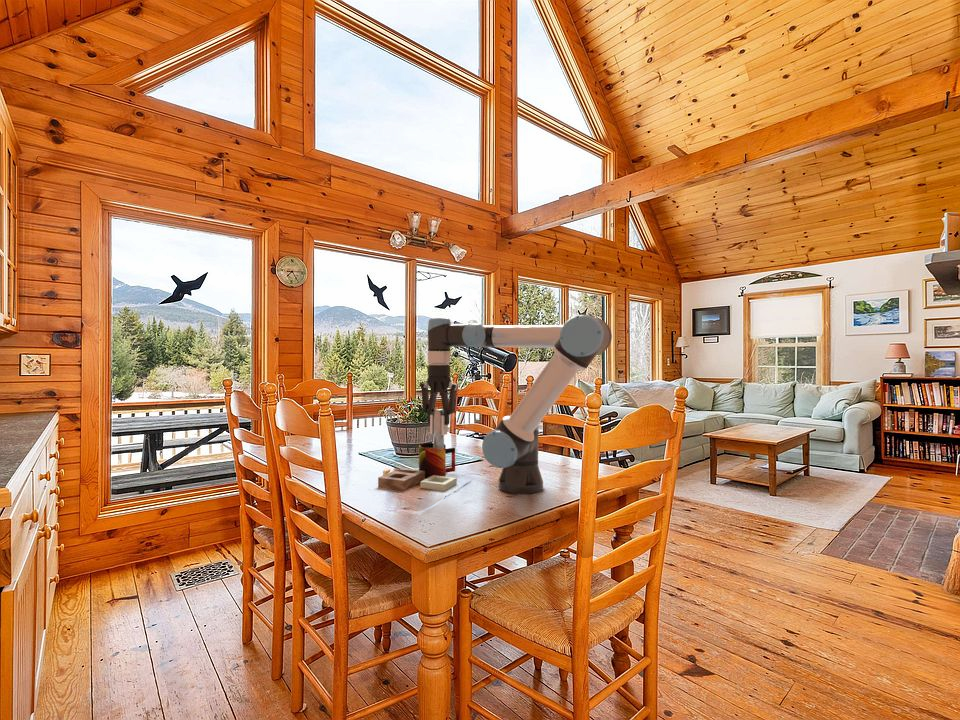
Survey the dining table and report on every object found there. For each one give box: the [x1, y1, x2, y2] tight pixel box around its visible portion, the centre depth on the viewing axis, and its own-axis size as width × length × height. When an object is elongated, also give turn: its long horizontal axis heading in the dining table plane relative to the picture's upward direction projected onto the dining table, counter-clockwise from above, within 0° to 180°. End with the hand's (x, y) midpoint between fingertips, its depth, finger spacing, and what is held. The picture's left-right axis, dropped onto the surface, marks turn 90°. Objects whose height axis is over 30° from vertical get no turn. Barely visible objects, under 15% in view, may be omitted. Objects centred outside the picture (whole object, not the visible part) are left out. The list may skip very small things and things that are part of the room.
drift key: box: [382, 468, 391, 476], centre depth 172 cm, size 10×3×4 cm, turn 67°
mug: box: [418, 442, 456, 479], centre depth 178 cm, size 10×14×12 cm
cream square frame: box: [419, 475, 458, 492], centre depth 163 cm, size 9×9×3 cm
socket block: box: [377, 467, 425, 491], centre depth 166 cm, size 10×14×4 cm
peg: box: [432, 408, 445, 449], centre depth 163 cm, size 4×4×13 cm
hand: (438, 433), depth 163 cm, fingers closed on peg, 3 cm apart
